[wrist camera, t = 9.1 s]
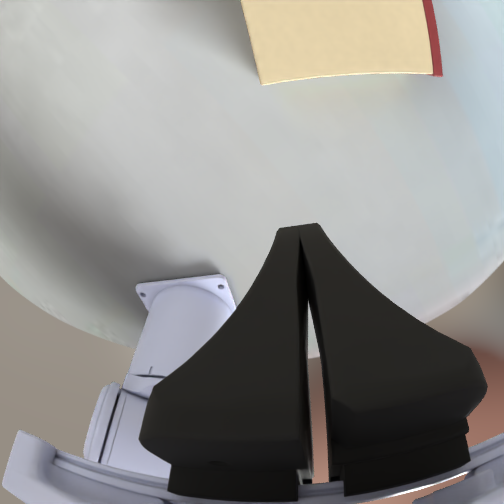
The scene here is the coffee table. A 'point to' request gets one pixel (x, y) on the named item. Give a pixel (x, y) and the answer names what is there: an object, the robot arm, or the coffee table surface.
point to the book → (341, 38)
